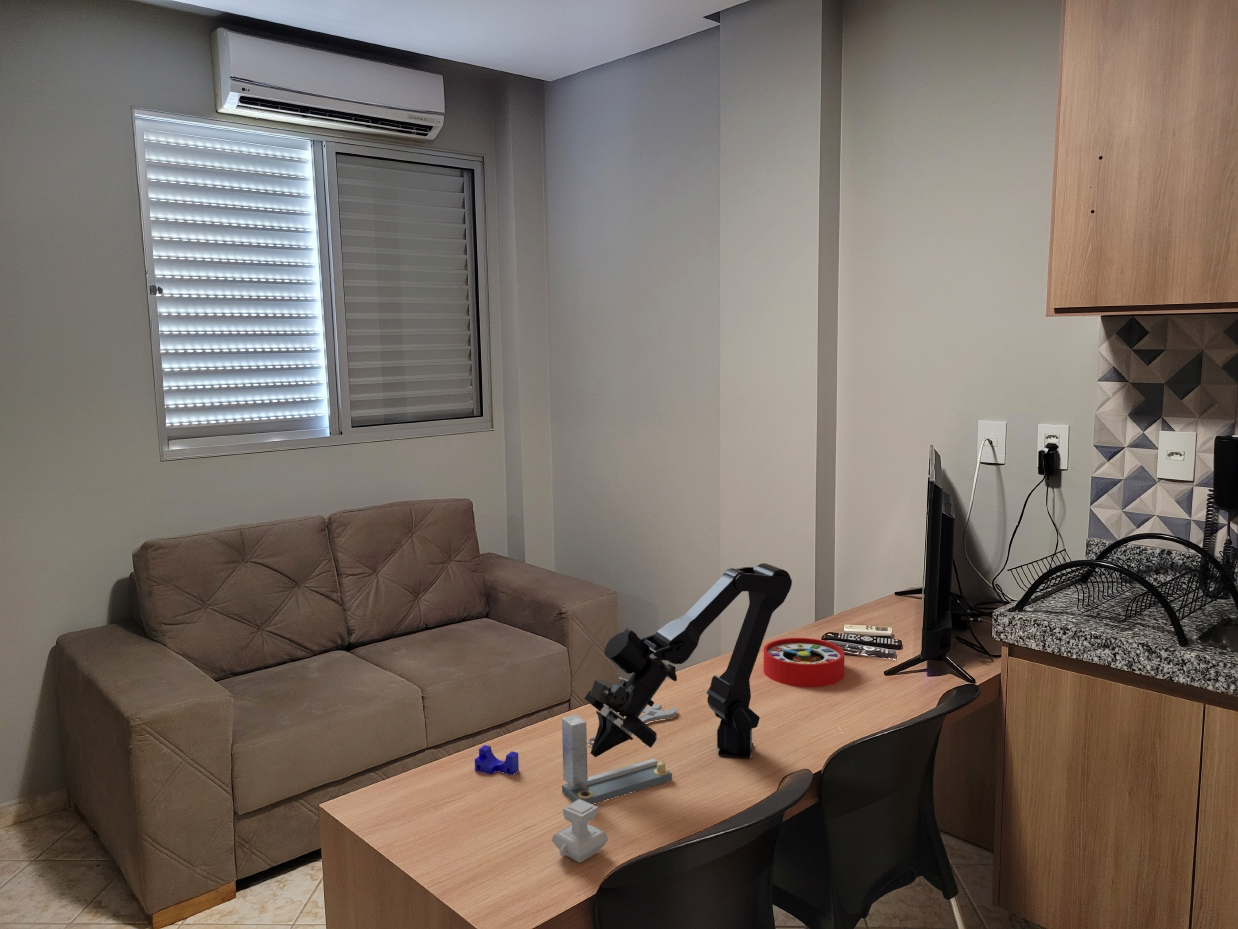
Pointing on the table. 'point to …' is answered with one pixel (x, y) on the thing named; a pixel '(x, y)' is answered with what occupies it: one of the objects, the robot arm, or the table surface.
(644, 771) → the plate
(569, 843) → the stamp
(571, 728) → the sliding jaw
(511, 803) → the table surface
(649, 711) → the adjustable wrench
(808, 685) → the toy clock
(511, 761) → the cable holder
